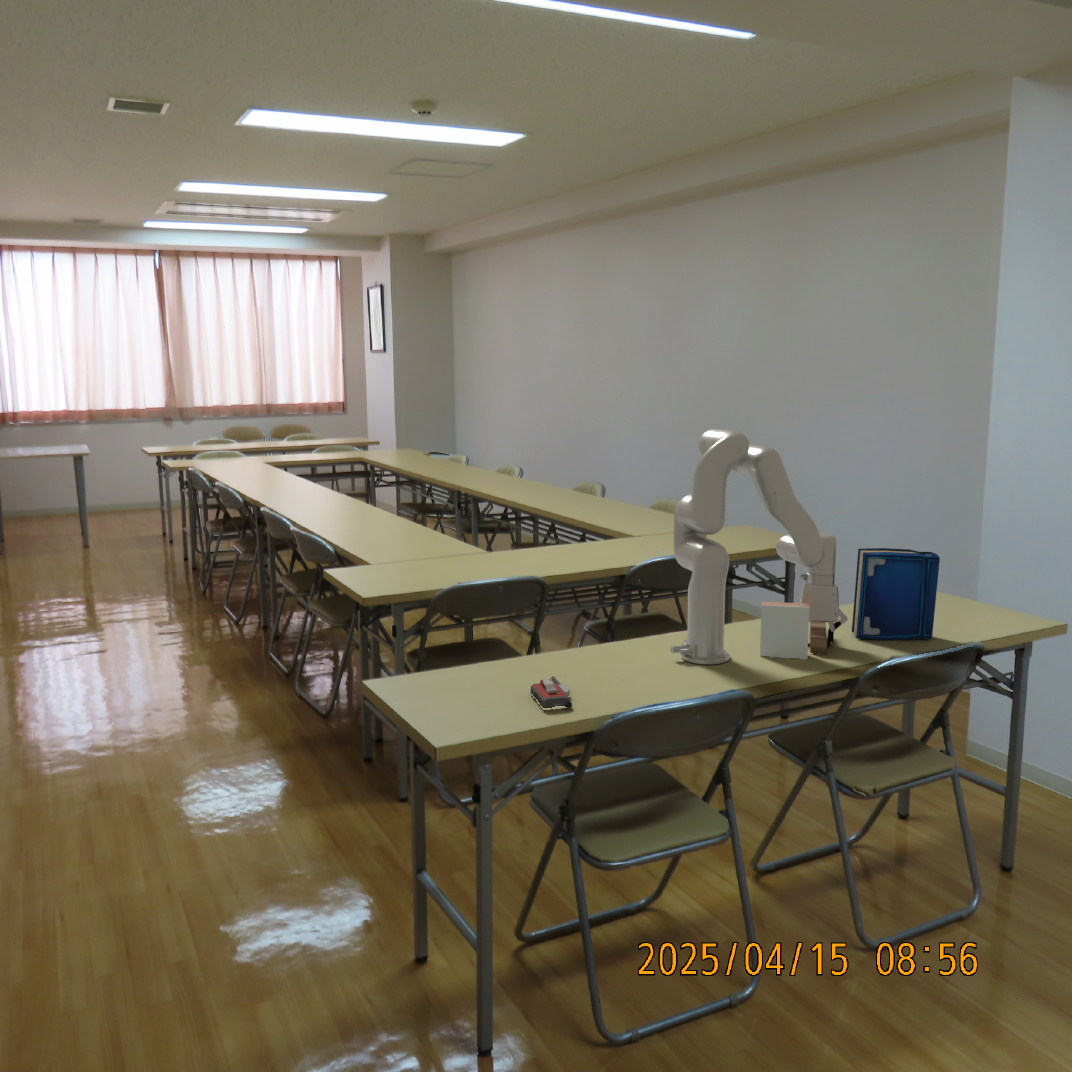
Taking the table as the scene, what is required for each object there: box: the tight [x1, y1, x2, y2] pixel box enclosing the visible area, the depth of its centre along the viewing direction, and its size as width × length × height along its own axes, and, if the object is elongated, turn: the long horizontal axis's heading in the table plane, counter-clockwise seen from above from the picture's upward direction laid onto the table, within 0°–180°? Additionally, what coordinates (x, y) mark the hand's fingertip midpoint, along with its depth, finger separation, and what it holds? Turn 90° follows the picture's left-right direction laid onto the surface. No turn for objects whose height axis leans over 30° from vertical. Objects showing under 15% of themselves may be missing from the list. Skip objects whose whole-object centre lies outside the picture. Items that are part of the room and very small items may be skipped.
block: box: [809, 621, 828, 656], centre depth 253 cm, size 18×4×5 cm, turn 164°
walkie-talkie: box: [530, 676, 573, 709], centre depth 217 cm, size 9×4×20 cm
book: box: [851, 547, 941, 641], centre depth 257 cm, size 22×7×25 cm, turn 84°
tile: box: [759, 601, 810, 660], centre depth 243 cm, size 4×12×14 cm, turn 75°
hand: (817, 643), depth 254 cm, fingers open, 5 cm apart
